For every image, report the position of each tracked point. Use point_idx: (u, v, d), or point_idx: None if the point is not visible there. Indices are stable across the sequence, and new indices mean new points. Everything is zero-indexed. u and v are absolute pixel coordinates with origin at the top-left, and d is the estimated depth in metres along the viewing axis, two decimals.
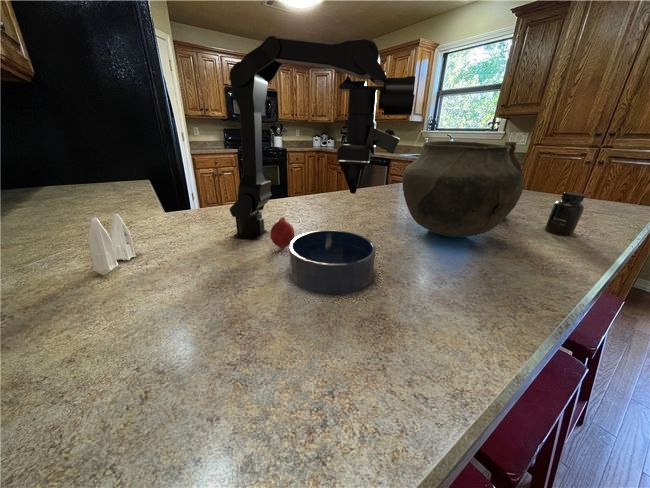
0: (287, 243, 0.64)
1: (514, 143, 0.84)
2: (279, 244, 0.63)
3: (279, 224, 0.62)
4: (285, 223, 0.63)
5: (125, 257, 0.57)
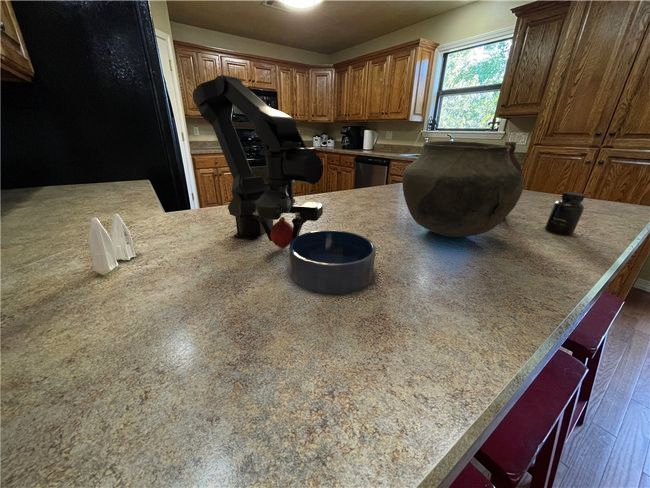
0: (287, 243, 0.64)
1: (514, 143, 0.84)
2: (279, 244, 0.63)
3: (279, 224, 0.62)
4: (285, 223, 0.63)
5: (125, 257, 0.57)
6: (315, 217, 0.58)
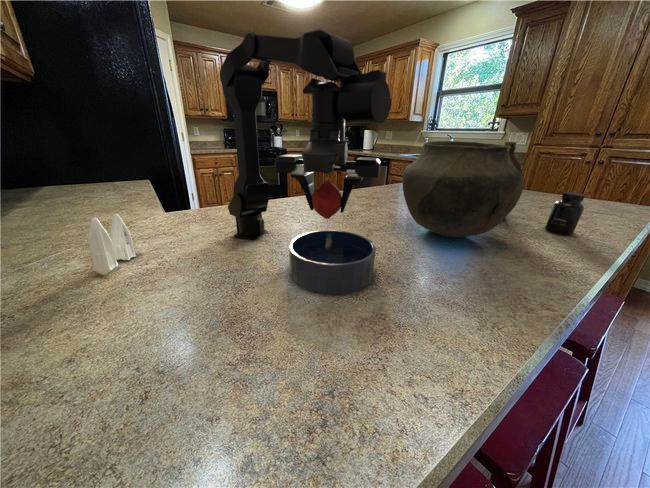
0: (334, 211, 0.50)
1: (514, 143, 0.84)
2: (324, 212, 0.50)
3: (325, 185, 0.49)
4: (332, 185, 0.50)
5: (125, 257, 0.57)
6: (376, 172, 0.45)
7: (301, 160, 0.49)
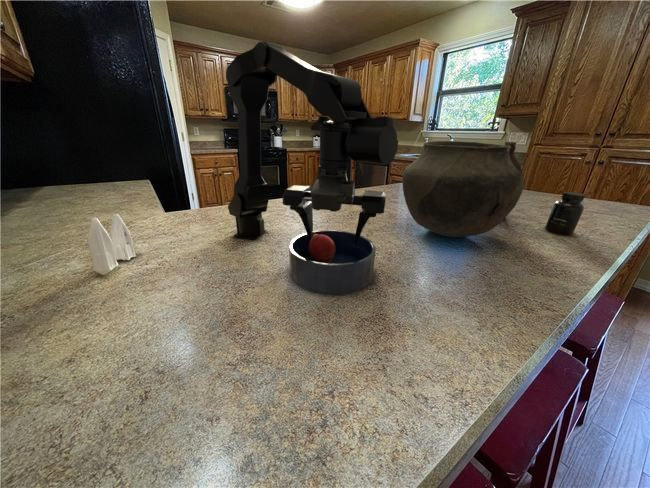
0: (328, 247, 0.55)
1: (514, 143, 0.84)
2: (320, 251, 0.55)
3: (313, 236, 0.58)
4: None
5: (125, 257, 0.57)
6: (382, 209, 0.46)
7: (308, 193, 0.50)
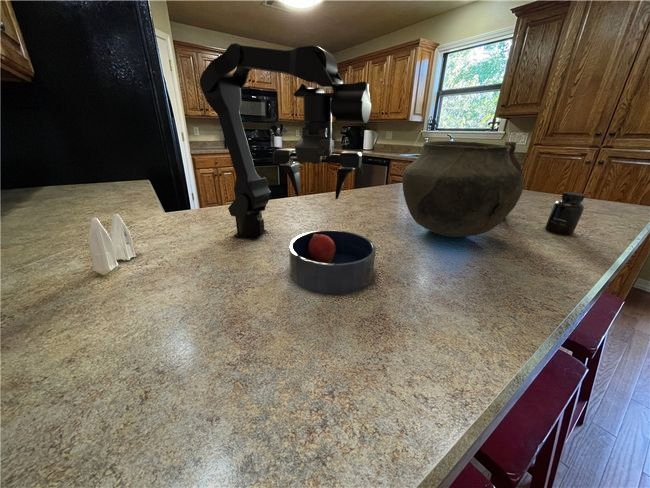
0: (328, 247, 0.55)
1: (514, 143, 0.84)
2: (320, 251, 0.55)
3: (313, 236, 0.58)
4: None
5: (125, 257, 0.57)
6: (357, 164, 0.54)
7: (295, 153, 0.58)
